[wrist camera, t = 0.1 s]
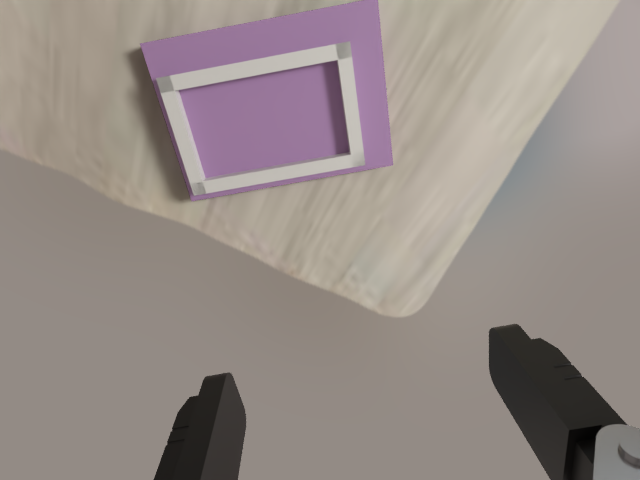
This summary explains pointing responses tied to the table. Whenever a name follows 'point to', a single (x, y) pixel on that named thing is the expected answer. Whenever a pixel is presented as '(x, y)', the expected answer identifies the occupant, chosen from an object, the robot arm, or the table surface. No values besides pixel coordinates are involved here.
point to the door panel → (275, 99)
